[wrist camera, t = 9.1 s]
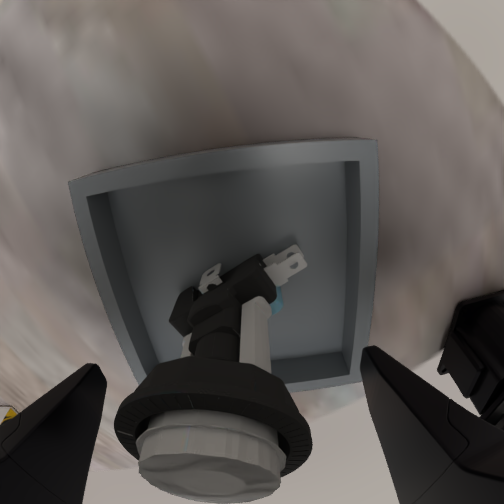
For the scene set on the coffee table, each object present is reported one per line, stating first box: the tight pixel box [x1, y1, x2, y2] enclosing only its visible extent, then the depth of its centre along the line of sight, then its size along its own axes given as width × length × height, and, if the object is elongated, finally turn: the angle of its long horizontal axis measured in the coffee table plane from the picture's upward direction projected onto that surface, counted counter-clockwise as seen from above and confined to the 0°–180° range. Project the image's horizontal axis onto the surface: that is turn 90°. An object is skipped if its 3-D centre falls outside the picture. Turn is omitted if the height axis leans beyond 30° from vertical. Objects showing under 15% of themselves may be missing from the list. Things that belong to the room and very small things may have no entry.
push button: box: [114, 244, 313, 504], centre depth 10 cm, size 7×5×10 cm
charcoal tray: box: [68, 137, 379, 393], centre depth 14 cm, size 13×13×2 cm
